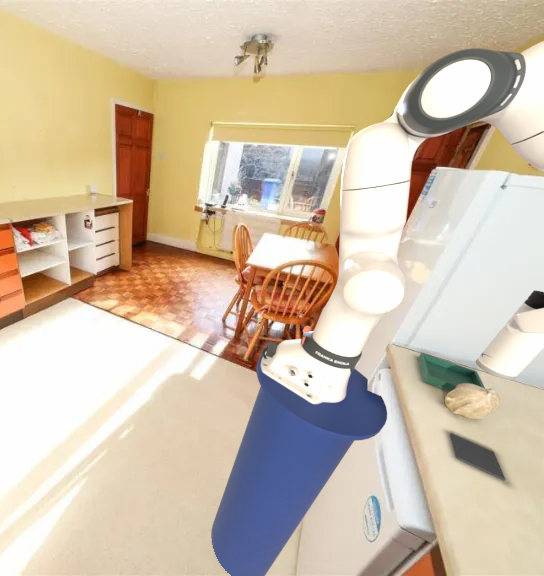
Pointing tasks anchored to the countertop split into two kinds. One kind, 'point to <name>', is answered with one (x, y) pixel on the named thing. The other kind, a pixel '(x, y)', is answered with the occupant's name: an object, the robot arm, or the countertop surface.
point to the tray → (446, 373)
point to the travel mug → (513, 345)
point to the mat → (476, 456)
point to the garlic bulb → (472, 400)
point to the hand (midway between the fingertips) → (525, 328)
